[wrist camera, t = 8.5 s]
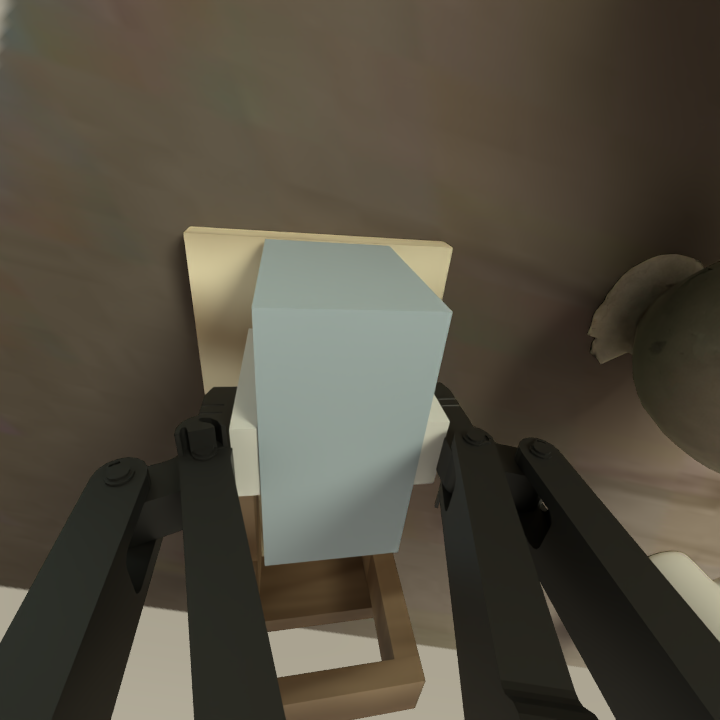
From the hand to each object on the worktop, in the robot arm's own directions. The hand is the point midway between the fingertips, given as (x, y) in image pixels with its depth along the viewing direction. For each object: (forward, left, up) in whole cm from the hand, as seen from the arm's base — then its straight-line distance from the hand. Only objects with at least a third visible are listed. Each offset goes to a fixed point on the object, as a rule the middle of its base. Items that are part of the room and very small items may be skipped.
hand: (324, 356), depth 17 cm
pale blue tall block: (0, 0, 0) cm, 0 cm away
